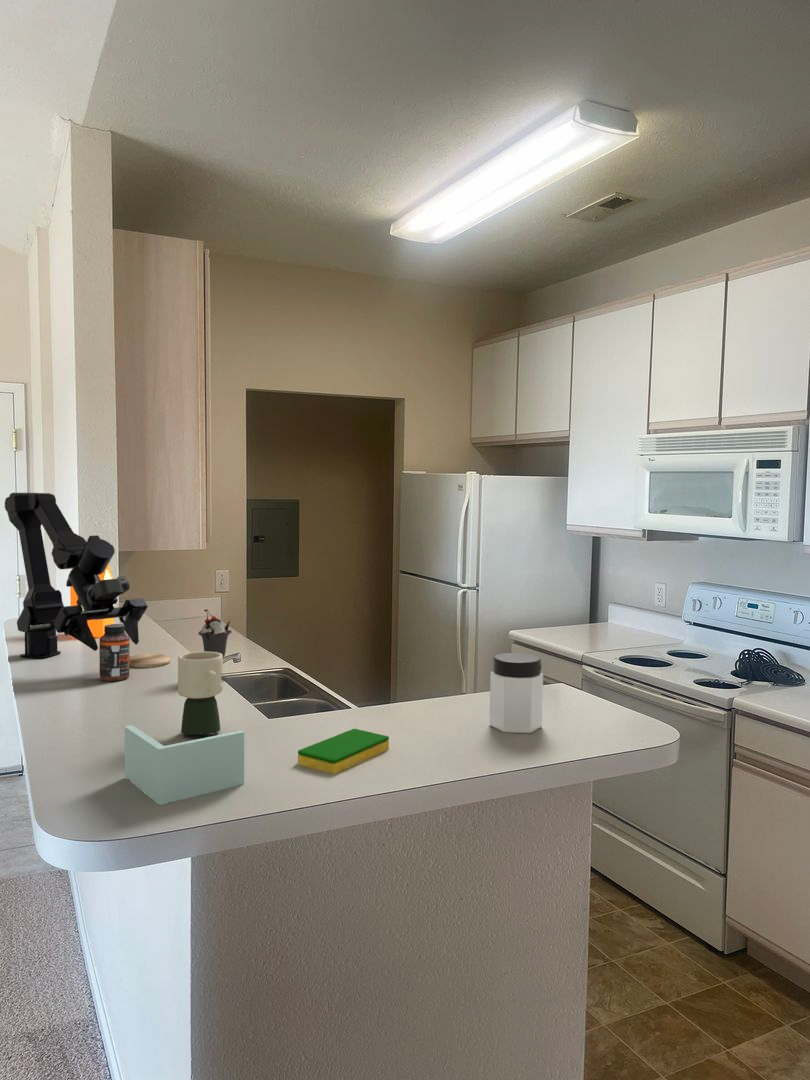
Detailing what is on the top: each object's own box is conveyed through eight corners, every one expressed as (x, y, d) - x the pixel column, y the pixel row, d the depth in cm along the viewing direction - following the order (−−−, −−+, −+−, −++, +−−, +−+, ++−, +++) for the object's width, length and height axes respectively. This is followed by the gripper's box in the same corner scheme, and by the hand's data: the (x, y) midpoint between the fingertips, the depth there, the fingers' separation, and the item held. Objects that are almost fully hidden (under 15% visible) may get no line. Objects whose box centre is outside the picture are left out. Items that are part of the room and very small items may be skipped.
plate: (114, 666, 178) (114, 661, 178) (140, 657, 188) (140, 652, 188) (154, 669, 175) (154, 664, 175) (178, 660, 185) (178, 655, 185)
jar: (550, 730, 134) (552, 660, 134) (510, 736, 131) (511, 664, 130) (520, 716, 142) (522, 650, 142) (481, 722, 139) (483, 654, 138)
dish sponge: (390, 751, 124) (390, 735, 124) (333, 776, 113) (333, 760, 113) (354, 742, 128) (354, 727, 128) (296, 766, 117) (296, 750, 117)
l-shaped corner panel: (244, 786, 109) (244, 732, 108) (159, 807, 101) (158, 749, 101) (205, 761, 118) (205, 712, 117) (125, 779, 110) (124, 726, 110)
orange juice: (103, 638, 210) (102, 563, 209) (70, 637, 210) (69, 562, 209) (114, 632, 218) (113, 560, 217) (82, 632, 218) (81, 559, 217)
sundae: (191, 681, 165) (191, 609, 164) (211, 674, 171) (211, 605, 170) (218, 684, 163) (218, 611, 162) (237, 677, 169) (237, 607, 168)
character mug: (235, 738, 128) (235, 658, 127) (193, 746, 124) (193, 664, 123) (207, 722, 137) (207, 647, 136) (167, 729, 132) (166, 652, 131)
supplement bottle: (123, 682, 163) (123, 627, 163) (94, 681, 164) (94, 627, 163) (133, 675, 169) (133, 623, 169) (106, 675, 170) (105, 622, 169)
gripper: (59, 567, 161) (88, 627, 154) (142, 561, 175) (171, 616, 168) (42, 602, 166) (69, 662, 160) (123, 594, 180) (151, 648, 174)
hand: (117, 646), depth 165 cm, fingers open, 9 cm apart
